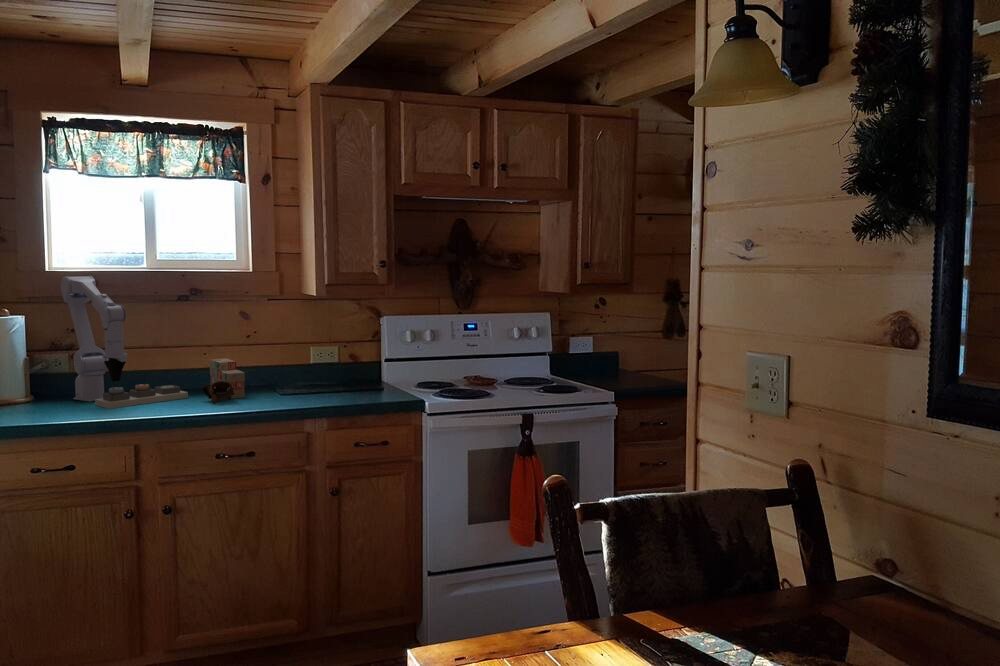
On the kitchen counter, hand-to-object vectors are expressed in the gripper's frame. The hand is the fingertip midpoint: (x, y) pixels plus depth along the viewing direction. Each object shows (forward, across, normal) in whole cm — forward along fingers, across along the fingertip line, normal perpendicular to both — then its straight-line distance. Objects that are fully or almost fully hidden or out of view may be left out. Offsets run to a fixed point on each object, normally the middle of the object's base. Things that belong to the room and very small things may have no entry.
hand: (115, 381), depth 271 cm
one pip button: (+6, 0, -18) cm, 19 cm away
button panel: (+8, 0, -9) cm, 12 cm away
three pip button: (+4, 0, -9) cm, 10 cm away
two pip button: (+4, 0, 0) cm, 4 cm away
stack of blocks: (+9, -8, -37) cm, 39 cm away
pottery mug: (+9, -19, -27) cm, 34 cm away
